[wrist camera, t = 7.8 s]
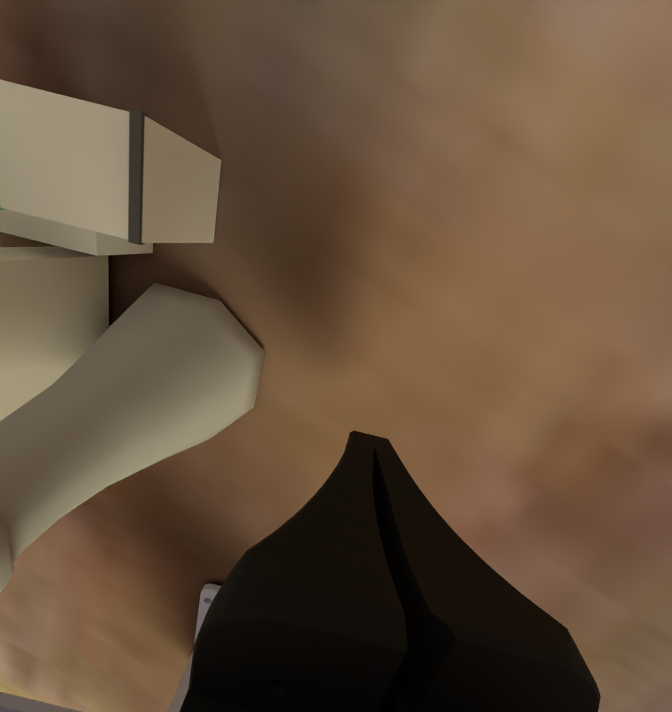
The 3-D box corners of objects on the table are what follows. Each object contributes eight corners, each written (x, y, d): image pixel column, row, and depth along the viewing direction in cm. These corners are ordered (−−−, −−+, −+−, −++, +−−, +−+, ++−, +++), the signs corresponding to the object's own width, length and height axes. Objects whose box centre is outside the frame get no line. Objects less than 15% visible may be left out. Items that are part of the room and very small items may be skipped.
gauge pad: (110, 419, 16) (-14, 506, 11) (78, 411, 16) (-61, 494, 11) (107, 161, 12) (-90, 98, 7) (65, 150, 12) (-164, 79, 7)
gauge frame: (191, 468, 17) (106, 579, 11) (-21, 415, 17) (-212, 501, 11) (221, 158, 12) (96, 84, 6) (-78, 84, 12) (-467, -56, 6)
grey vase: (93, 380, 16) (-304, 583, 6) (146, 251, 14) (-351, 270, 4) (223, 455, 17) (39, 730, 7) (293, 345, 14) (160, 539, 5)
